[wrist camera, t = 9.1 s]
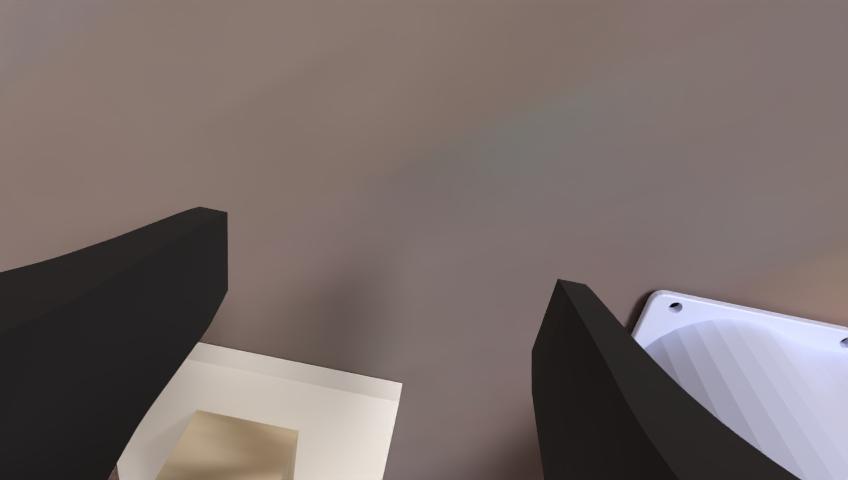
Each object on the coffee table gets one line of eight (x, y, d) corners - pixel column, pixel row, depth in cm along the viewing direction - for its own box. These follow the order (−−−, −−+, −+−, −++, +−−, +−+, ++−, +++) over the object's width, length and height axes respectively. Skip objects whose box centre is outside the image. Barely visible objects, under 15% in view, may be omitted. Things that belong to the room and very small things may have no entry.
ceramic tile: (402, 383, 26) (399, 401, 25) (370, 531, 32) (366, 552, 31) (113, 324, 26) (97, 341, 25) (134, 484, 32) (123, 502, 31)
